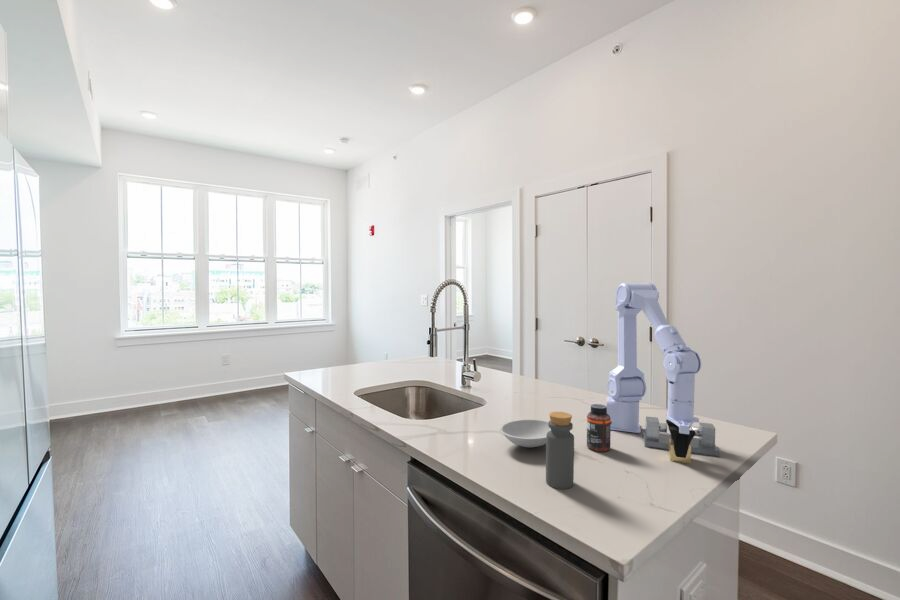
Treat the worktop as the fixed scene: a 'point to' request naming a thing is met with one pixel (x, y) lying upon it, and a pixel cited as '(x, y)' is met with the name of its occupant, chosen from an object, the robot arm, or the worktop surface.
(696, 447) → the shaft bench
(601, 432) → the supplement bottle
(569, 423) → the bottle
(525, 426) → the dish
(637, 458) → the worktop surface
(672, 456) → the block
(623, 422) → the robot arm
